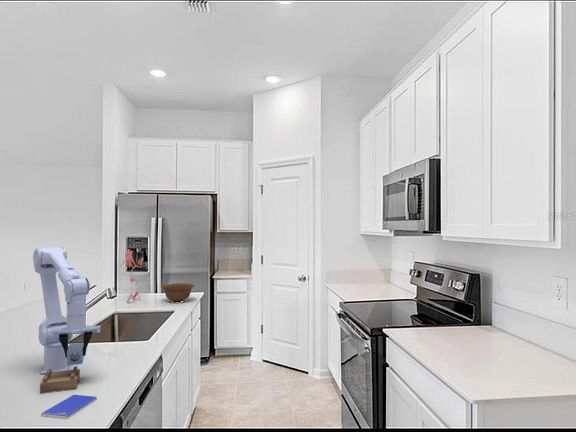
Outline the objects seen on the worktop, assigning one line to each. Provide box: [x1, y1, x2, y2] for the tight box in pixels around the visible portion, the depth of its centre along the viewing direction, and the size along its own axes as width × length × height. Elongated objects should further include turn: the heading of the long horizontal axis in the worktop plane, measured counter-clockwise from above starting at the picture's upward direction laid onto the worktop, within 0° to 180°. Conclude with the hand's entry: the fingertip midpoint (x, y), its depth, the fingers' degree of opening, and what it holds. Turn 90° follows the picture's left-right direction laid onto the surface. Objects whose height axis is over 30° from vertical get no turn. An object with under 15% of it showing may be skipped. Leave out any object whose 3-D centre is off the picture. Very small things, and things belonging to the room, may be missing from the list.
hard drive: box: [40, 394, 98, 420], centre depth 118 cm, size 2×8×12 cm
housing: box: [67, 342, 85, 366], centre depth 138 cm, size 7×4×5 cm, turn 22°
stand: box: [39, 365, 81, 394], centre depth 134 cm, size 10×10×4 cm
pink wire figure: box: [120, 248, 145, 303], centre depth 276 cm, size 15×26×35 cm, turn 178°
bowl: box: [160, 282, 195, 302], centre depth 276 cm, size 22×22×11 cm
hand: (75, 355), depth 138 cm, fingers closed on housing, 4 cm apart
